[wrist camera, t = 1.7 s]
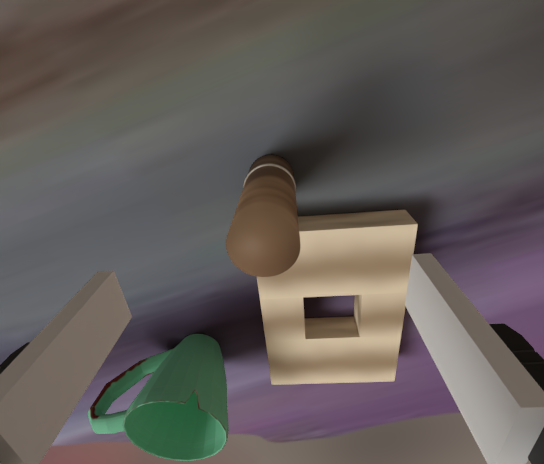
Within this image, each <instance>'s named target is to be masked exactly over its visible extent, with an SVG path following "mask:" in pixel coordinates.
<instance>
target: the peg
mask: <svg viewBox="0 0 544 464" xmlns="http://www.w3.org/2000/svg"><path fill="white" fill-rule="evenodd" d="M226 249H227V253H228V255H229V257H230V259H231V261H232V262H233V263H234V265H236V266H237V267H238V268H239V269H240V270H242V271H243V272H245V273H247V274H250V275H253V276H257V277H272V276H276V275H279V274H281V273H283V272H285V271H287V270H288V269H289V268H291V267H292V266H293V265H294V263H295V262H296V260H297V258H298V256H299V253H300V234H299V224H298V214H297V204H296V184H295V181H294V174H293V170H292V167H291V166H290V164H289V163H288V162H287V161H286V160H285V159H284V158H282V157H280V156H277V155H265V156H262V157H260V158H258V159H257V160H256V161H255V162H254V163H253V164H252V166H251V167H250V170H249V173H248V175H247V177H246V179H245V182H244V186H243V191H242V194H241V197H240V200H239V203H238V206H237V208H236V211H235V214H234V217H233V220H232V223H231V226H230V229H229V232H228V235H227V239H226Z"/></svg>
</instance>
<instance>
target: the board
mask: <svg viewBox="0 0 544 464" xmlns="http://www.w3.org/2000/svg"><path fill="white" fill-rule="evenodd" d="M298 224H299V234H300V253H299V256H298V258H297V260H296V262H295V263H294V265H293V266H292V267H291V268H289V269H288V270H287V271H285V272H283V273H281V274H279V275H276V276H272V277H257V282H258V289H259V296H260V304H261V311H262V318H263V325H264V333H265V340H266V347H267V354H268V362H269V369H270V376H271V383H272V385H279V384H315V383H351V382H387V381H394V380H395V374H396V367H397V360H398V354H399V347H400V340H401V334H402V327H403V320H404V314H405V307H406V306H405V301H406V294H407V287H408V280H409V273H410V266H411V259H412V254H414V247H415V240H416V234H417V227H418V224H417V222H416V221H415V220H414V219H413V218H412V217H411V216H410V214H409V213H408V212H407V211H406V210H391V211H376V212H361V213H346V214H331V215H316V216H301V217H298ZM344 295H355V300H354V316H352V317H328V318H305V319H304V303H303V297H323V296H344Z"/></svg>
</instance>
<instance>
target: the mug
mask: <svg viewBox="0 0 544 464" xmlns="http://www.w3.org/2000/svg"><path fill="white" fill-rule="evenodd" d="M151 373H153V374H152V376H151V377H150V379H149V380H148V381H147V383H146V384H145V386H144V387H143V388H142V390H141V391H140V393H139V394H138V395H137V397H136V398H135V399H134V401H133V402H132V404H131V405H130V407H129V408H128V410H125V411H121V412H117V413H113V414H105V413H106V411H107V410H108V408H109V407H110V405H111V404H112V402H113V401H115V400H116V399H117V398H118V397H119V396H121V395H122V394H123V393H124V392H126V391H127V390H128V389H130V388H131V387H132V386H133V385H135V384H136V383H137V382H139V381H140V380H141V379H142V378H144V377H145V376H146V375H149V374H151ZM88 417H89V420H90V423H91V426H92V429H93V431H94V432H95V433H97V434H109V433H117V432H121V431H125V434H126V436H127V437H128V438H129V439H130V440H131V442H132V443H133V444H134V445H136V446H138V447H139V448H140V449H142V450H144V451H145V452H148V453H150V454H152V455H155V456H158V457H161V458H166V459H170V460H179V461H180V460H181V461H192V460H200V459H204V458H207V457H210V456H213V455H214V454H216V453H217V452H219V451H220V450H221V449H223V447H224V445H225V443H226V441H227V438H228V413H227V384H226V375H225V368H224V362H223V357H222V353H221V349H220V346H219V344H218V342H217V341H216V340H215V339H214V338H212V337H210V336H208V335H204V334H192V335H189V336H187V337H185V338H184V339H183V340H182V341H181V342H180V343H179V344H178V345H177V346H176V347H175V348H173V349H171V350H168V351H165V352H162V353H160V354H157V355H154V356H151V357H149V358H146V359H143V360H141V361H139V362H138V363H136V364H135V365H133V366H132V367H130V368H129V369H127V370H126V371H124V372H123V373H122V374H120V375H119V376H117V377H116V378H114V379H113V380H111V381H110V382H108V383H107V384H106V385H105V386H104V388H103V389H102V391H101V393H100V394H99V396H98V397H97V399H96V400H95V402H94V403H93V405H92V406H91V408H90V409H89V412H88Z"/></svg>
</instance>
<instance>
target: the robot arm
mask: <svg viewBox="0 0 544 464" xmlns="http://www.w3.org/2000/svg"><path fill="white" fill-rule="evenodd" d="M405 306H406V308H407V310H408V312H409V314H410V316H411V318H412V320H413V322H414V324H415V325H416V327H417V329H418V331H419V333H420V335H421V337H422V339H423V341H424V343H425V345H426V347H427V348H428V350H429V352H430V354H431V356H432V358H433V360H434V362H435V364H436V366H437V368H438V370H439V372H440V373H441V375H442V377H443V379H444V381H445V383H446V385H447V387H448V389H449V391H450V393H451V395H452V396H453V398H454V400H455V402H456V404H457V406H458V408H459V410H460V412H461V414H462V416H463V417H464V419H465V421H466V423H467V425H468V427H469V429H470V431H471V433H472V435H473V437H474V439H475V440H476V442H477V444H478V446H479V448H480V450H481V452H482V454H483V456H484V458H485V460H486V462H487V464H526V463H527V461H528V459H529V460H530V462H531V464H544V360H543V358H542V357H541V356H540V355H539V354H538V353H537V352H535V351H534V348H533V347H532V346H531V345H530V344H529V343H528V342H527V341H526V340H525V339H524V337H523V336H522V335H520V334H519V333H517V332H516V331H514V330H513V329H511V328H510V327H508V326H507V325H505V324H488V322H487V321H486V320H485V319H484V318H483V316H482V315H481V314H480V313H479V311H478V310H477V309H476V308H475V307H474V305H473V304H472V303H471V302H470V300H469V299H468V298H467V297H466V296H465V294H464V293H463V292H462V291H461V289H460V288H459V287H458V286H457V285H456V283H455V282H454V281H453V280H452V278H451V277H450V276H449V275H448V274H447V272H446V271H445V270H444V269H443V267H442V266H441V265H440V264H439V263H438V261H437V260H436V259H435V258H434V256H433V255H432V254H431V253H428V254H412V259H411V266H410V273H409V280H408V287H407V294H406V301H405ZM131 318H132V316H131V313H130V311H129V308H128V306H127V303H126V301H125V298H124V296H123V293H122V290H121V288H120V285H119V283H118V280H117V278H116V275H115V273H114V271H100V272H97V273H96V274H95V275H94V276H93V277H92V278H91V279H90V280H89V281H88V282H87V283H86V284H85V285H84V287H83V288H82V289H81V290H80V291H79V292H78V293H77V294H76V295H75V296H74V297H73V298H72V299H71V300H70V301H69V302H68V303H67V304H66V306H65V307H64V308H63V309H62V310H61V311H60V312H59V313H58V314H57V315H56V316H55V317H54V318H53V319H52V320H51V321H50V322H49V323H48V325H47V326H46V327H45V328H44V329H43V330H42V331H41V332H40V333H39V334H38V335H37V336H36V337H35V338H34V339H33V340H32V341H31V342H29V343H26V344H25V345H23V346H22V347H20V348H19V349H18V350H16V351H15V352H13V353H12V354H11V355H10V356H9V357H8V358H7V359H6V360H5V361H4V362H3V363H2V364H1V365H0V463H1V464H40V462H41V461H42V459H43V457H44V456H45V454H46V453H47V451H48V450H49V448H50V446H51V445H52V443H53V442H54V440H55V438H56V437H57V435H58V434H59V432H60V430H61V429H62V427H63V426H64V424H65V422H66V421H67V419H68V418H69V416H70V415H71V413H72V411H73V410H74V408H75V407H76V405H77V403H78V402H79V400H80V399H81V397H82V395H83V394H84V392H85V391H86V389H87V388H88V386H89V384H90V383H91V381H92V380H93V378H94V376H95V375H96V373H97V372H98V370H99V368H100V367H101V365H102V364H103V362H104V361H105V359H106V357H107V356H108V354H109V353H110V351H111V349H112V348H113V346H114V345H115V343H116V341H117V340H118V338H119V337H120V335H121V334H122V332H123V330H124V329H125V327H126V326H127V324H128V322H129V321H130V319H131Z"/></svg>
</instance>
